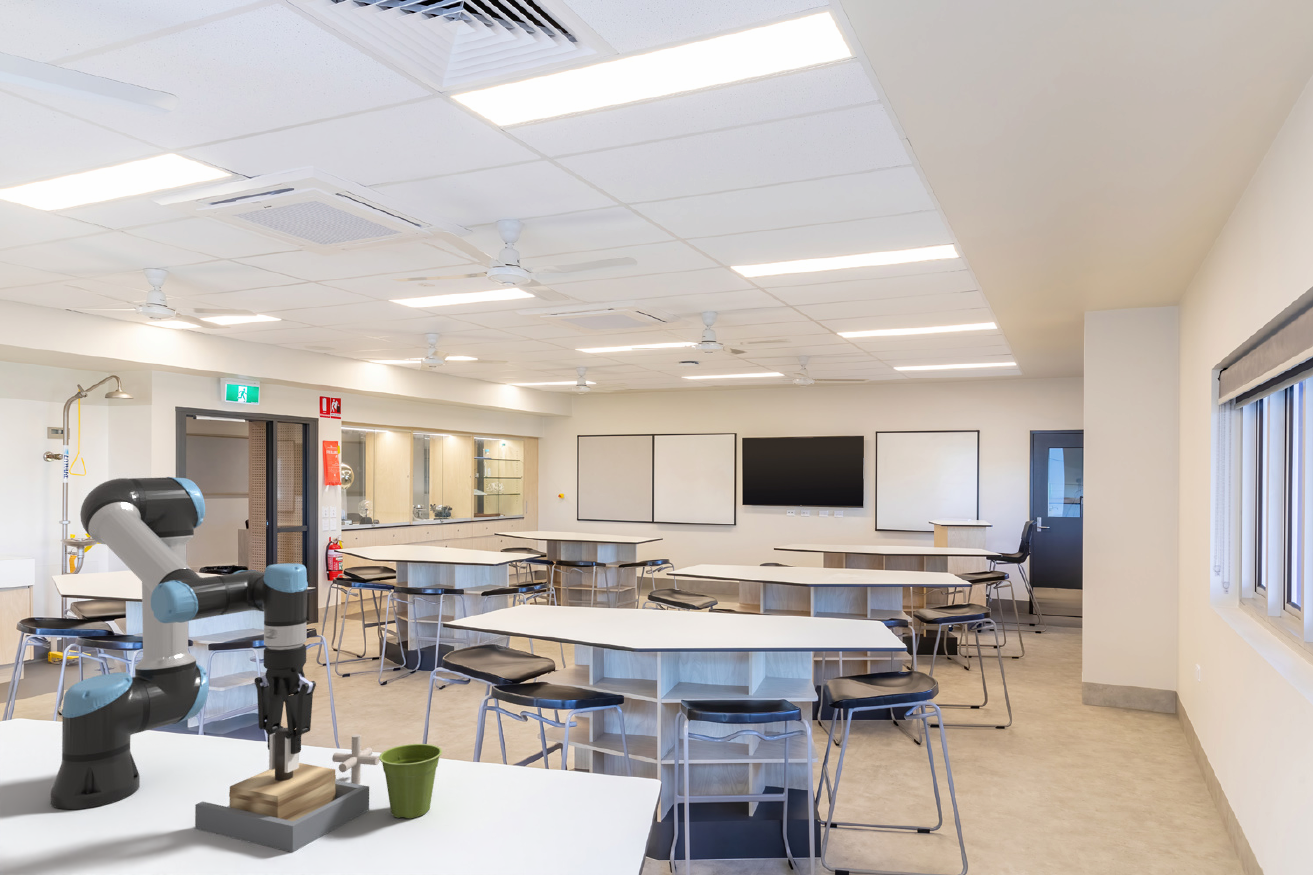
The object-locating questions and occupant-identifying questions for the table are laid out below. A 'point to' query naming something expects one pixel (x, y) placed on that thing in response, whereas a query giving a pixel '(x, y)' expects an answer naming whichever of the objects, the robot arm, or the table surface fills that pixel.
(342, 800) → the bay
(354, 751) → the pipe connector
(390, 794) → the plant pot
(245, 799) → the wooden block with peg
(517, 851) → the table surface
